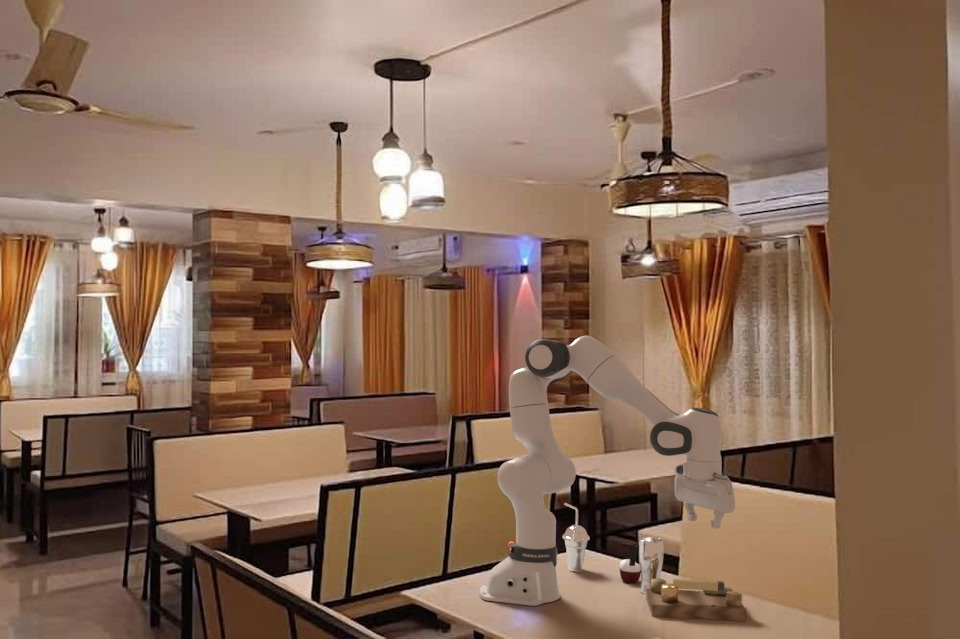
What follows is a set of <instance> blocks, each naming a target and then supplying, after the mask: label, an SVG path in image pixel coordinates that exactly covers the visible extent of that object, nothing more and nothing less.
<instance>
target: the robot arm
mask: <svg viewBox="0 0 960 639" xmlns="http://www.w3.org/2000/svg"><path fill="white" fill-rule="evenodd" d="M524 356H525V357H524V360H525V364H526V367H521V368H519V369H517V370H514V371H513V372H512V373H511V375H510V376H509V381H508V382H509V383H508V404H509V405H508V406H509V411H510V412H509V414H510V421H511V422H510V423H511V430H512V435H513V437H514V438H515V440H517V441H519V443H521V444H522V445H523V446H524V447H525V449H526V452H527V454H528V456H521V457H520V456H519V457H515V458H512V459H510V460H508V461H505V462H503V463H502V464H501V465H499V466H500V467H499V469H498V470H497V471H498V472H497V484H498V488H499V489H500V490H501V492H502V493H503V494H504V495H505V496H506V497H507V498H508V500H509V501H510V502H511V504H512V507H513V509H514V510H513V511H514V513H515V514H514V515H515V525H516V526H515V528H516V530H515V531H516V532H515V542H514V541H511V540H510V541H509V542H508V544H507V549H508V556H507V557H506V558H504V559H503V560H502V561H500V562H499V563H498V564H496V565H495V566H494V567H492V568H491V570H490V573H489V576H488V579H487V582H485V583H484V584H482V585H481V586H480V588H479V597H480V598H481V599H482V600H484V601H489V602H491V601H492V602H497V603H507V604H514V605H523V606H524V605H525V606H533V607H536V606H541V604H546V603H552V602H555V601H557V600H559V599H560V598H561V593H560V590H559V586H558V579H557V578H558V577H557V564H558V546H557V544H556V537H557V534H556V532H557V527H556V526H557V520H556V519H557V518H556V516H555V515H554V513H553V512H551V511H550V510H548V509H547V507H546V505H545V501H544V495H548V494H549V495H550V494H556V493H560V492H562V491H564V490H567V489H568V488H570V487H571V486H572V485H573V484H574V482H575V480H576V477H577V476H576V475H577V474H576V473H577V472H576V466H575V464H574V461H573V460H572V459H571V458H570V457H569V456H567V454H565V453H564V452H563V451H562V449H561V448H560V446H559V444H558V441H557V439H556V437H555V435H554V433H553V428H552V427H553V426H552V420H551V415H550V407H549V402H548V393H547V392H548V386H549V385H553V384H556V383H557V382H559V381H561V380H563V379H565V378H567V377H568V376H570V375H571V374H572V373H573V372H574V373H576V374H577V375H578V376H580V378H582V379H583V380H584V381H585V382H586V384H588V385H589V386H590V387H591V389H593V390H594V391H595V392H597V393H598V394H599V395H601V396H602V397H604V399H608V400H611V401H616V402H619V403H624V404H626V405H628V406H630V407H632V408H633V409H635V410H636V411H637V412H638V413H639V414H640V415H641V416H642V417H643V418H644V419H646V420H647V421H648V422H649V423H651V425H652V426H653V427H652V429H651V431H650V434H649V441H650V445H651V447H652V449H653V450H654V451H655V452H656V453H658V454H659V455H662V456H666V457H675V456H677V455H685V456H686V462H682V463H680V464H677V465H675V466H674V473H675V477H674V496H675V499H676V500H677V501H679V502H682V503H684V507H685V511H686V512H687V519H688V521H691V522H697V520H698V518H697V517H698V513H696V512H695V509H694V507H695V506H696V507H700V508H703V509H707V510H711V511H713V515H714V517H713V519H712V520H711V522H710V523H711V525H710V526H711V528H713V529H720V528H721V522H722V520H723V517H724V516H725V514H732V513H733V512H734V511H735V508H736V502H735V492H734V487H733V482H732V481H731V479H730V478H729V477H728V475H725V474H724V475H723V473H722V470H723V469H722V468H723V466H722V464H723V463H722V455H721V446H722V443H723V437H722V434H723V432H722V423H721V418H720V416H719V414H718V413H717V412H715V411H714V410H711V409H709V408H705V407H703V408H702V407H696V406H695V407H691V408H689V409H688V410H686V411H685V412H683V413H681V414H679V413H676V412H674V411H672V410H671V409H670V408H669V407H668V406H667V405H665V403H663V401H661V400H660V399H659V398H658V397H656V396H655V394H653V393H652V392H651V391H650V390H649V389H648V388H646V387H645V386H644V385H643V383H642V382H641V381H640V380H639V378H637V377H636V376H635V375H634V373H633V372H632V370H630V369H629V367H628V366H627V365H626V364H625V363H624V362H623V361H622V360H621V359H620V358H619V357H618V356H617V355H616V354H615V353H614V352H613V351H612V350H611V349H609V347H607V346H606V345H605V344H603V343H602V342H601V341H599V340H598V339H596V338H594V337H593V336H591V335H581V336H579V337H578V338H576V339H575V340H574V341H572V342H571V343H570V344H566V343H564V342H561V341H558V340H555V339H548V338H541V339H537V340H535V341H534V342H532V343H530V345H529V346H528V347H527V349H526V351H525V355H524Z"/></svg>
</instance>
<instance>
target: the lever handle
mask: <svg viewBox="0 0 960 639" xmlns="http://www.w3.org/2000/svg"><path fill="white" fill-rule="evenodd" d="M672 581H673V582H672V583H667V582H666V584H662V585H661V600H663V601H666V602H677V601H678V590H691V591H703V590H712V591H724V587H725V582H724V581H719V580H699V579H697V580H693V579H675V578H674V579H672Z"/></svg>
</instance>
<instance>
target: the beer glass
mask: <svg viewBox="0 0 960 639" xmlns="http://www.w3.org/2000/svg"><path fill="white" fill-rule="evenodd" d="M638 562H639V563H638V564H640V570H641V575H640V578H641V579H640V585H639V592H640V593H641V594H644V595H646V588H651V579H656V578H657V579H661V574H662V569H663V564H664V539H662V538H661V537H657V536H642V537H639V544H638Z"/></svg>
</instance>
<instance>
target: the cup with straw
mask: <svg viewBox="0 0 960 639" xmlns="http://www.w3.org/2000/svg"><path fill="white" fill-rule="evenodd" d="M563 505H564V506H566V507H569V508H571V509H573V510H575V524H572V525H570V526H569V527H567V528H566V530H565V533H563V534H562V539H563V540H564V545H565V549H566V551H565V552H566V560H567V561H566V562H567V563H566V564H567V567H568V568H567V570H568V571H569V570H570V572H573V571H575V573H576V572H578V573H579V572H582V571H583V570H584V569H583V568H584V564H585V554H586V548H587V544H588V541H590V536H589V535H588V533H587V530H586V529H585V528H584V527H583V526H581V525H579V509H578V508H577V507H576V506H574V505H572V504H569V503H567V502H564V503H563Z"/></svg>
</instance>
